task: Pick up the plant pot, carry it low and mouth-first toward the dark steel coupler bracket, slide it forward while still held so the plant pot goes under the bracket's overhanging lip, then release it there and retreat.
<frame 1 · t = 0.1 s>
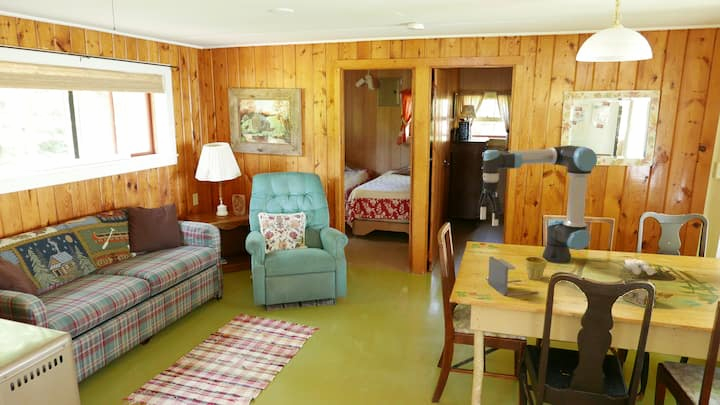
hand: (488, 222, 253), 28 cm above the table, fingers open, 13 cm apart
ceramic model: (639, 302, 222), on the table
bracket: (513, 287, 240), on the table
binoculars: (637, 270, 263), on the table
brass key: (491, 278, 252), on the table
plant pot: (534, 278, 253), on the table
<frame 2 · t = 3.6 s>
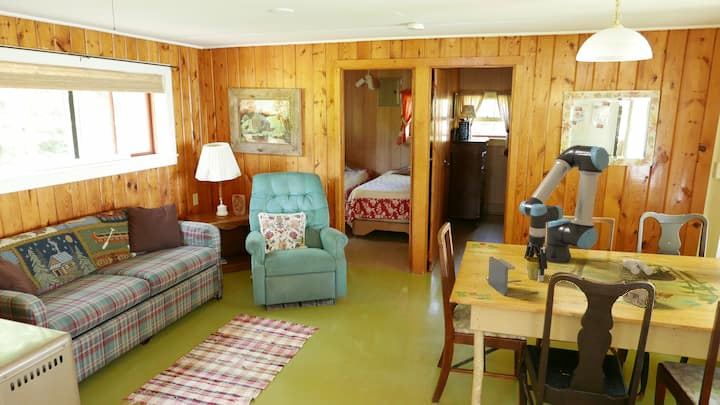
hand: (534, 277, 253), 0 cm above the table, fingers closed on plant pot, 10 cm apart
plant pot: (534, 278, 253), on the table, touching gripper
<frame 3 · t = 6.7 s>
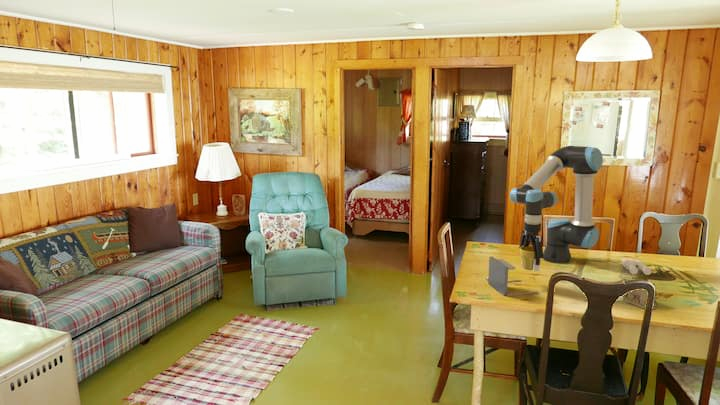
hand: (529, 267, 239), 10 cm above the table, fingers closed on plant pot, 10 cm apart
plant pot: (529, 268, 239), point 9 cm above the table, touching gripper
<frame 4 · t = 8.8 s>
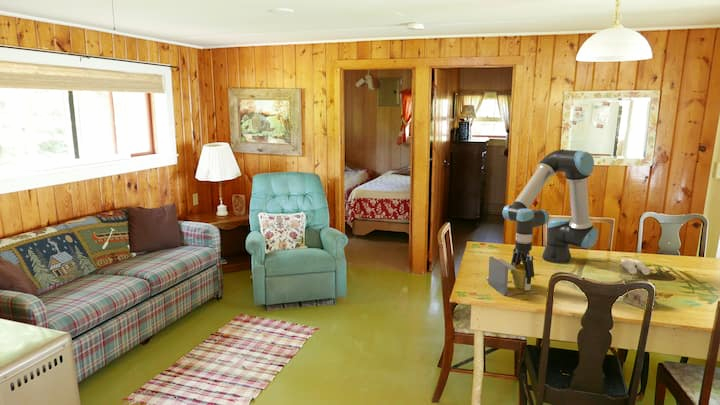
hand: (521, 285, 240), 1 cm above the table, fingers closed on plant pot, 10 cm apart
plant pot: (521, 286, 240), on the table, touching gripper
when the fingers open (1 cm above the table, at t = 10.2 s): plant pot stays where it is, on the table.
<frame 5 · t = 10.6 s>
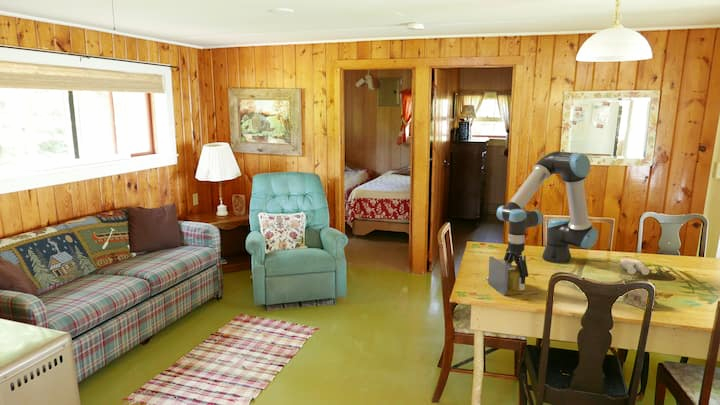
hand: (514, 284, 240), 2 cm above the table, fingers open, 13 cm apart
plant pot: (513, 288, 240), on the table
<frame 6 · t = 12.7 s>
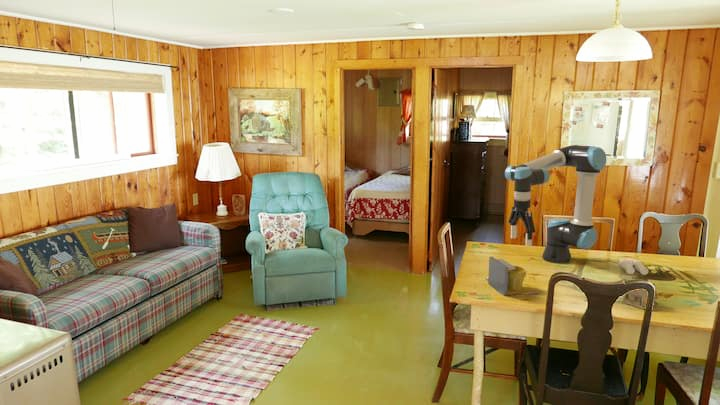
hand: (520, 241, 243), 21 cm above the table, fingers open, 13 cm apart
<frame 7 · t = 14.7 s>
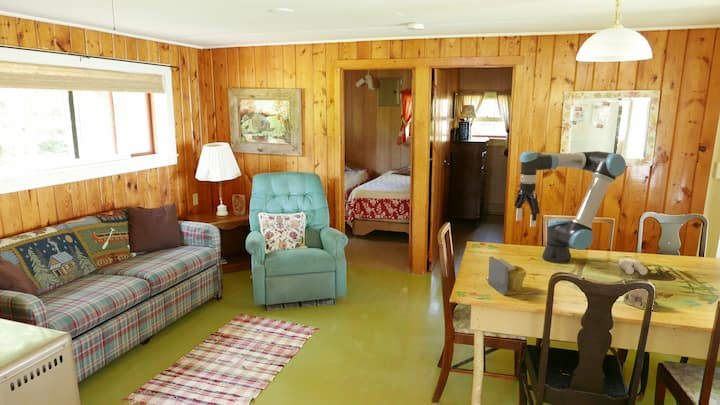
hand: (525, 223, 255), 27 cm above the table, fingers open, 13 cm apart
at the end: plant pot inside the target area on the bracket (1.5 cm from its centre), point 0.0 cm above the bracket's base; plant pot tilted 0°; the gripper is holding nothing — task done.
